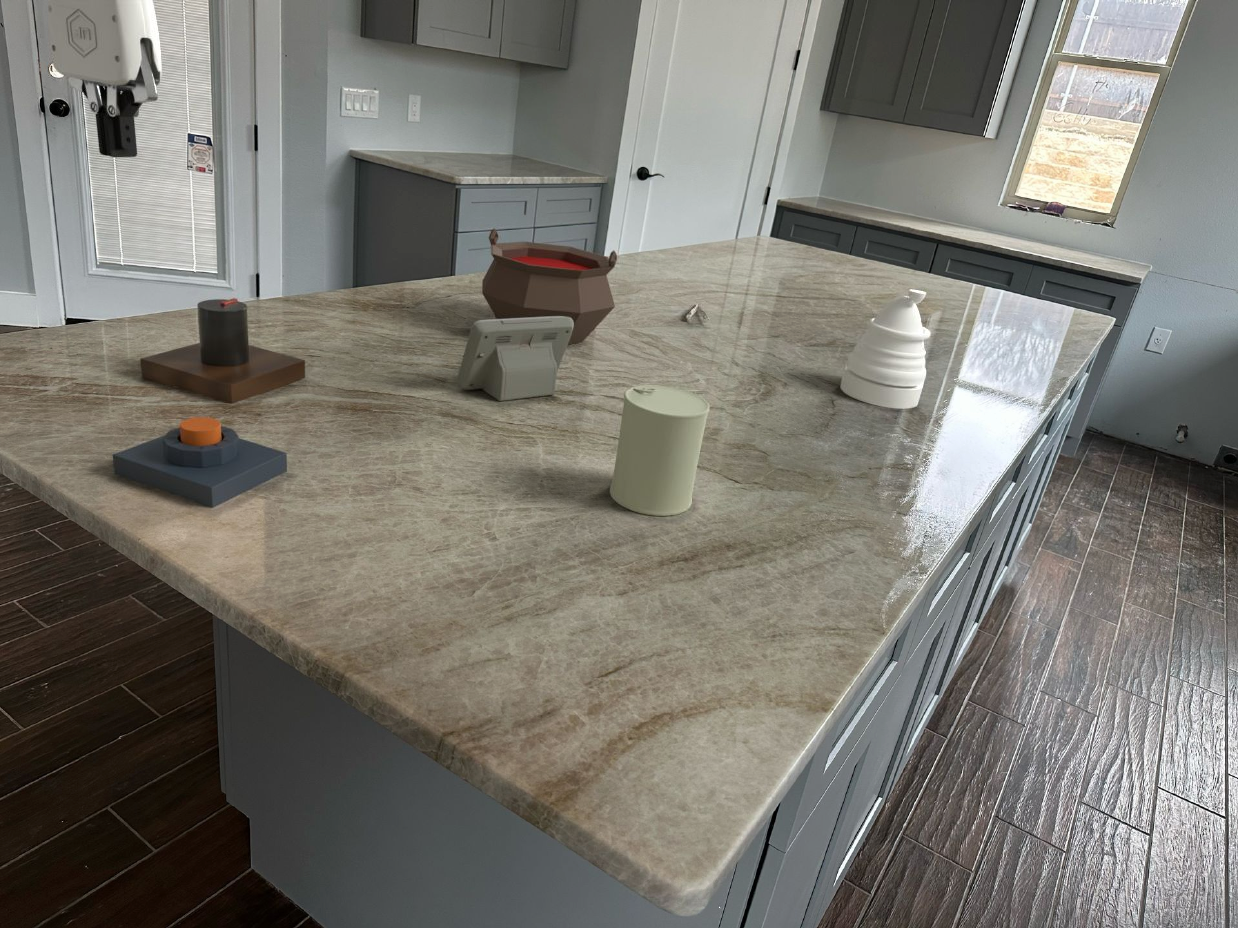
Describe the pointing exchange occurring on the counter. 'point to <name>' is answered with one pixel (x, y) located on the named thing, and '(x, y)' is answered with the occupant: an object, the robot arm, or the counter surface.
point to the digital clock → (515, 356)
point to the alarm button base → (201, 466)
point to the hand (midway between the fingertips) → (118, 155)
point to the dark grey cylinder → (223, 332)
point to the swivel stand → (223, 373)
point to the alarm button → (200, 431)
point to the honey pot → (890, 357)
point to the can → (658, 449)
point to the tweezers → (699, 312)
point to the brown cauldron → (549, 283)
